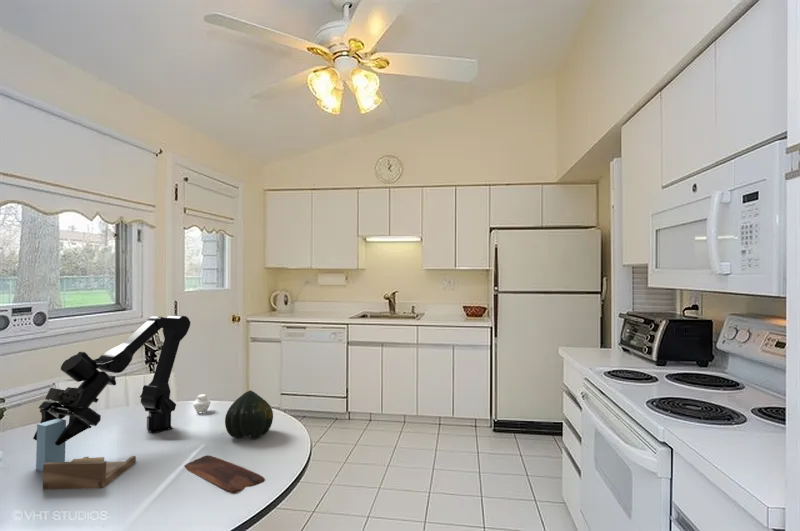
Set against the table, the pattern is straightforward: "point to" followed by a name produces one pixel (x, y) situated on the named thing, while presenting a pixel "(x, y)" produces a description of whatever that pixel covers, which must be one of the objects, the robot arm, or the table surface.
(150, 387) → the robot arm
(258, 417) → the squash
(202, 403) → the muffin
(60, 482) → the tray
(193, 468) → the wooden tablet
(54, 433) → the light blue block
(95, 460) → the offcut upper
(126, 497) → the table surface
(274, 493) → the table surface
